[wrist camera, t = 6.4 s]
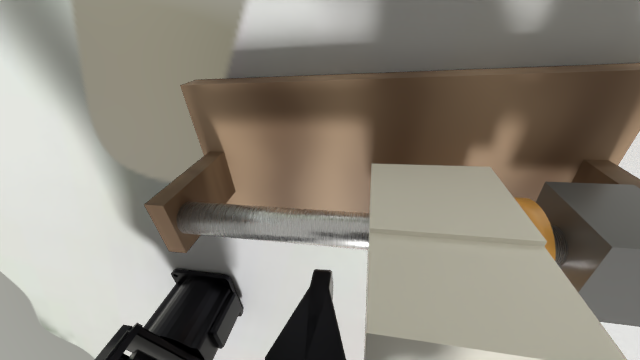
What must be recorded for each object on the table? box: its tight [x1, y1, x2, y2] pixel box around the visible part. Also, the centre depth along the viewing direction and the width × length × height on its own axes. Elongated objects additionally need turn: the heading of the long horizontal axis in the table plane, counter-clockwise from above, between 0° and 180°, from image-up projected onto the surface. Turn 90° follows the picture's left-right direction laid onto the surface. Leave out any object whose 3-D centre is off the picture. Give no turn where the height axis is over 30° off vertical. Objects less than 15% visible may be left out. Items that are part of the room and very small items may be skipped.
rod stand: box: [144, 63, 640, 327], centre depth 13 cm, size 22×11×8 cm, turn 94°
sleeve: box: [364, 164, 627, 360], centre depth 9 cm, size 5×4×8 cm
